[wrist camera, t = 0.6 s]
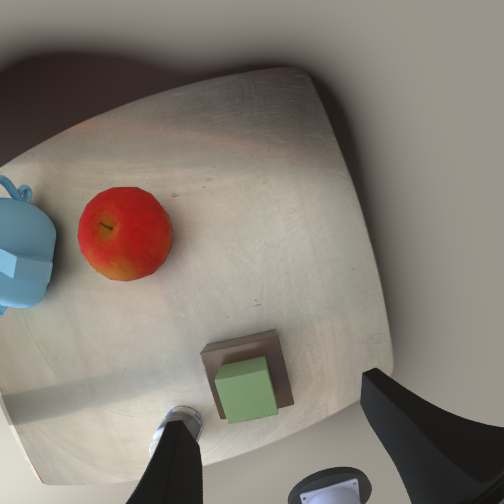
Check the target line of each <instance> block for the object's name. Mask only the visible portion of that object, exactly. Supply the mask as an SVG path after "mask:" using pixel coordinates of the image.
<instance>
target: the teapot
mask: <svg viewBox="0 0 504 504" xmlns="http://www.w3.org/2000/svg"><path fill="white" fill-rule="evenodd" d="M0 184H2V185H3V186H4V187H5V189H6V190H7V191H8V193H9V194H10V196H11V197H12V198H13V199H11V198H0V317H1V316H2V315H3V314H4V312H5V310H6V309H7V307H13V308H30V307H33V306H35V305H36V304H37V303H38V302H40V301H41V299H42V298H43V297H44V295H45V292H46V289H47V284H48V283H49V282H50V277H51V272H52V267H53V263H52V259H53V253H54V247H55V240H56V235H57V234H56V230H55V227H54V225H53V223H52V221H51V220H50V218H49V217H48V216H47V215H46V214H45V213H44V212H43V211H41V210H40V209H39V208H37V207H36V206H34V205H32V204H30V203H29V202H30V201H31V197H32V191H31V189H30V187H28V186H27V185H21V186H20V187H19V188H18V190H17V189H16V187H15V186H14V185H13V183H12V182H11V181H10V180H9V179H8V178H7V177H5V176H3V175H0ZM23 191H24V194H23ZM22 194H23V197H22Z"/></svg>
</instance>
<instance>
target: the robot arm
mask: <svg viewBox="0 0 504 504" xmlns="http://www.w3.org/2000/svg"><path fill="white" fill-rule="evenodd" d="M360 404H361V406H362V408H363V410H364V413H365V415H366V417H367V419H368V421H369V423H370V425H371V427H372V428H373V430H374V432H375V433H376V435H377V436H378V438H379V439H380V441H381V442H382V444H383V446H384V447H385V449H386V451H387V452H388V454H389V455H390V457H391V458H392V460H393V462H394V464H395V466H396V467H397V470H398V472H399V474H400V476H401V478H402V480H403V483H404V485H405V488H406V490H407V493H408V495H409V498H410V500H411V503H412V504H504V427H497V426H492V425H486V424H483V423H479V422H475V421H472V420H468V419H465V418H462V417H460V416H457V415H455V414H452V413H450V412H447V411H445V410H443V409H441V408H439V407H437V406H435V405H433V404H431V403H429V402H428V401H426V400H424V399H422V398H421V397H419V396H417V395H416V394H414V393H412V392H411V391H409V390H408V389H406V388H405V387H403V386H402V385H400V384H399V383H397V382H396V381H394V380H393V379H392V378H390V377H389V376H388V375H386V374H385V373H383V372H382V371H381V370H379V369H378V368H373V369H371V370H369V371H366V372H364V373H362V388H361V400H360ZM353 483H354V484H353ZM300 497H301V501H302V504H361V503H360V499H359V488H358V480H357V478H353V479H350V480H347V481H344V482H341V483H338V484H334V485H331V486H328V487H324V488H321V489H317V490H313V491H309V492H305V493H302V494H301V495H300ZM304 497H306V498H304ZM126 504H203V480H202V461H201V454H200V447H199V444H198V443H197V442H196V440H195V439H194V437H193V436H192V434H191V433H190V431H189V430H188V428H187V427H186V425H185V424H184V422H183V421H182V420H176V421H168V422H167V423H166V425H165V427H164V430H163V432H162V435H161V437H160V440H159V442H158V445H157V447H156V449H155V451H154V454H153V456H152V458H151V460H150V462H149V464H148V466H147V468H146V470H145V472H144V474H143V476H142V478H141V480H140V482H139V483H138V485H137V487H136V489H135V490H134V492H133V493H132V495H131V496H130V498H129V499H128V501H127V502H126Z"/></svg>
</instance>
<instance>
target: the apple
mask: <svg viewBox="0 0 504 504" xmlns="http://www.w3.org/2000/svg"><path fill="white" fill-rule="evenodd" d="M78 240H79V244H80V248H81V251H82V254H83V255H84V257H85V258H86V259H87V261H88V262H89V264H90V265H91V266H92V267H93V268H94V269H95V270H96V271H97V272H99V273H101V274H102V275H104V276H106V277H107V278H109V279H111V280H119V281H131V280H136V279H139V278H142V277H145V276H148V275H150V274H153V273H154V272H155V271H156V270H157V269H158V268H159V267H160V266H161V265H162V264H163V263H164V261H165V259H166V257H167V255H168V252H169V250H170V248H171V240H172V228H171V224H170V220H169V216H168V214H167V213H166V212H165V210H164V209H163V207H162V206H161V205H160V203H159V202H158V201H157V200H156V199H155V198H154V196H153V195H152V194H151V193H148V192H146V191H144V190H142V189H140V188H138V187H114V188H111V189H108V190H106V191H103V192H101V193H99V194H98V195H97V196H95V197H94V198H93V199H92V200H91V201H90V202H89V203H88V204H87V205H86V207H85V209H84V212H83V214H82V216H81V218H80V221H79V229H78Z"/></svg>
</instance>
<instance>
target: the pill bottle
mask: <svg viewBox="0 0 504 504" xmlns="http://www.w3.org/2000/svg"><path fill="white" fill-rule="evenodd" d="M176 420H182V421H183V422H184V424H185V425H186V427H187V428H188V430H189V431H190V433H191V434H192V436H193V437H194V439H195V440H196V442H197V443H198V440H199V437H200V435H201V432H202V428H203V421H202V418H201V417H200V415H199V414H198V413H197V412H196V411H194V410H193V409H191V408H188V407H175V408H173V409H172V410H170V411H169V412H168V414H167V415H166V417H165V418H164V420H163V421H162V423H161V425H160V426H159V428H158V429H157V431H156V432H155V434H154V436H153V443H152V445H151V447H150V456H151V458H152V456H153V454H154V451H155V449H156V447H157V445H158V442H159V440H160V437H161V435H162V432H163V430H164V427H165V425H166V423H167V422H168V421H176Z"/></svg>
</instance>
